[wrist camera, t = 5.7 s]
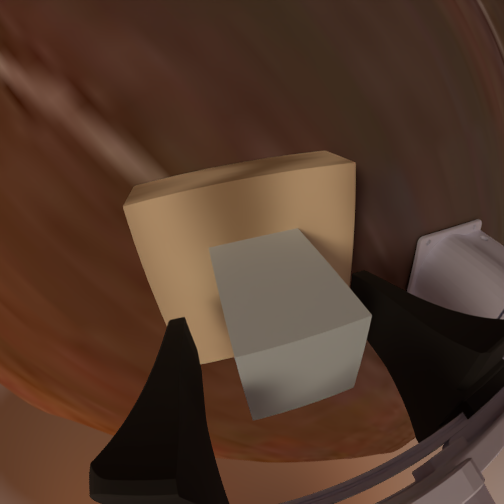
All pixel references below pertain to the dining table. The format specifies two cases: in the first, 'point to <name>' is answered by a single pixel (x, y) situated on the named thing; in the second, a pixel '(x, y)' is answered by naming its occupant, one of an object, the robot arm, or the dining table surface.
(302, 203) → the maple pedestal
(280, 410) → the gray block
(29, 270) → the dining table surface
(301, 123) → the dining table surface
